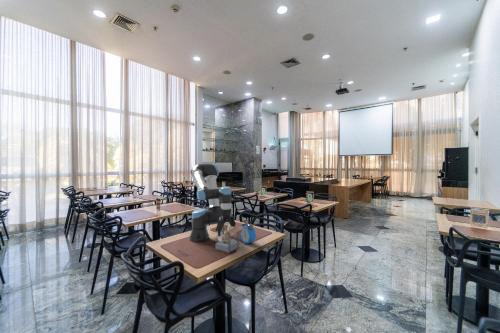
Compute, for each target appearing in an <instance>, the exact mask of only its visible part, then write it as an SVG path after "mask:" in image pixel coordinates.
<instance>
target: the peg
mask: <svg viewBox="0 0 500 333" xmlns="http://www.w3.org/2000/svg"><path fill="white" fill-rule="evenodd" d="M223 234H224V236H223V238H224V239H223V240H224V243H225V244H227V243H228V230H224V231H223Z"/></svg>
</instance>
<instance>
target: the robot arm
mask: <svg viewBox="0 0 500 333" xmlns="http://www.w3.org/2000/svg"><path fill="white" fill-rule="evenodd" d="M219 175H220V173H219V167H218V165H217V164H216V163H198V164H195V165H194V166H193V167H192V168H191V170H190V176H191V178H192V179H193V180H194V184H195V185H196V188H197V190H196V198H197V200H200V201H205V200H206V201H207V200H208V207H207V209H206V208H198V209H195V210H193V211H192V212H191V231H190V235H189V240H190V241H191V242H196V243H197V242H198V243H200V242H205V241H207V240H209V239H210V234H209V231H208V228H207V226H209V225H216V228H215V232H217V240H218V242H220V241H222V240H223V231H222V230H223V228H224V225H225V224H226V223H227V222H228V223H229V225H230V226H229V230H231V229H233V228H235V227H236V224H237V223H236V221H235V220H236V219H235V217H234V214H233V212H232V188H231V186H221V187H218V185H217V178H218V176H219ZM234 234H235V233H234ZM234 234H233V233H230V236H234Z"/></svg>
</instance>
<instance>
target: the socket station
mask: <svg viewBox="0 0 500 333" xmlns="http://www.w3.org/2000/svg"><path fill="white" fill-rule="evenodd" d="M242 229H243V227H242V226H234V228H233V229H231V230H230V229H228V230H227V231H228V243H227V244H225V243H224V239H222V241H218V242H216V243H215V246H214V248H215V250H216V251H217V250H218V251H220V252H223V253H228V254H231V252H233V251H234V250H236V249H238V248H240V235H239V231H240V230H242ZM230 233H233V234H235V233H236V240H234V239H231V235H230Z"/></svg>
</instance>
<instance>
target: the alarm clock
mask: <svg viewBox="0 0 500 333" xmlns="http://www.w3.org/2000/svg"><path fill="white" fill-rule="evenodd" d="M241 227H243V229H242V230H240V231H239V239H240V240H241V242H242V243H244V244H245V245H246V244H247V245H249V244H251V243H253V242H255V240H256V238H257V237H256V236H257V233H256V230H255V228H254V225H253V224H251V223H248V222H245V221H244V222H242V224H241Z"/></svg>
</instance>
